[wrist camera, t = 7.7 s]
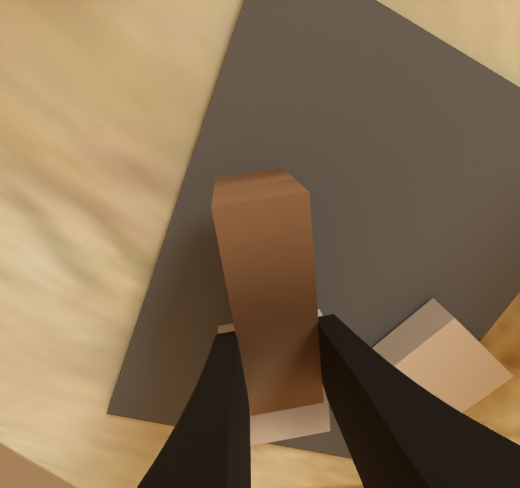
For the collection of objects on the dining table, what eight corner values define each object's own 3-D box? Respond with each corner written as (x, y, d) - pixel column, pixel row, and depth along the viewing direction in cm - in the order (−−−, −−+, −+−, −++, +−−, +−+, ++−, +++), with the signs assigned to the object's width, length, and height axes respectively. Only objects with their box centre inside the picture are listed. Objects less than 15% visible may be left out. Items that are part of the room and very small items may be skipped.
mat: (620, 153, 15) (630, 154, 15) (378, 457, 22) (380, 463, 22) (265, -61, 10) (266, -67, 10) (108, 407, 18) (106, 413, 17)
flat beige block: (357, 394, 16) (423, 440, 18) (454, 317, 15) (514, 376, 17) (345, 367, 18) (406, 412, 20) (431, 296, 17) (487, 352, 19)
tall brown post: (187, 181, 11) (169, 213, 8) (309, 163, 12) (349, 185, 8) (241, 436, 16) (246, 530, 13) (326, 420, 16) (356, 508, 13)
